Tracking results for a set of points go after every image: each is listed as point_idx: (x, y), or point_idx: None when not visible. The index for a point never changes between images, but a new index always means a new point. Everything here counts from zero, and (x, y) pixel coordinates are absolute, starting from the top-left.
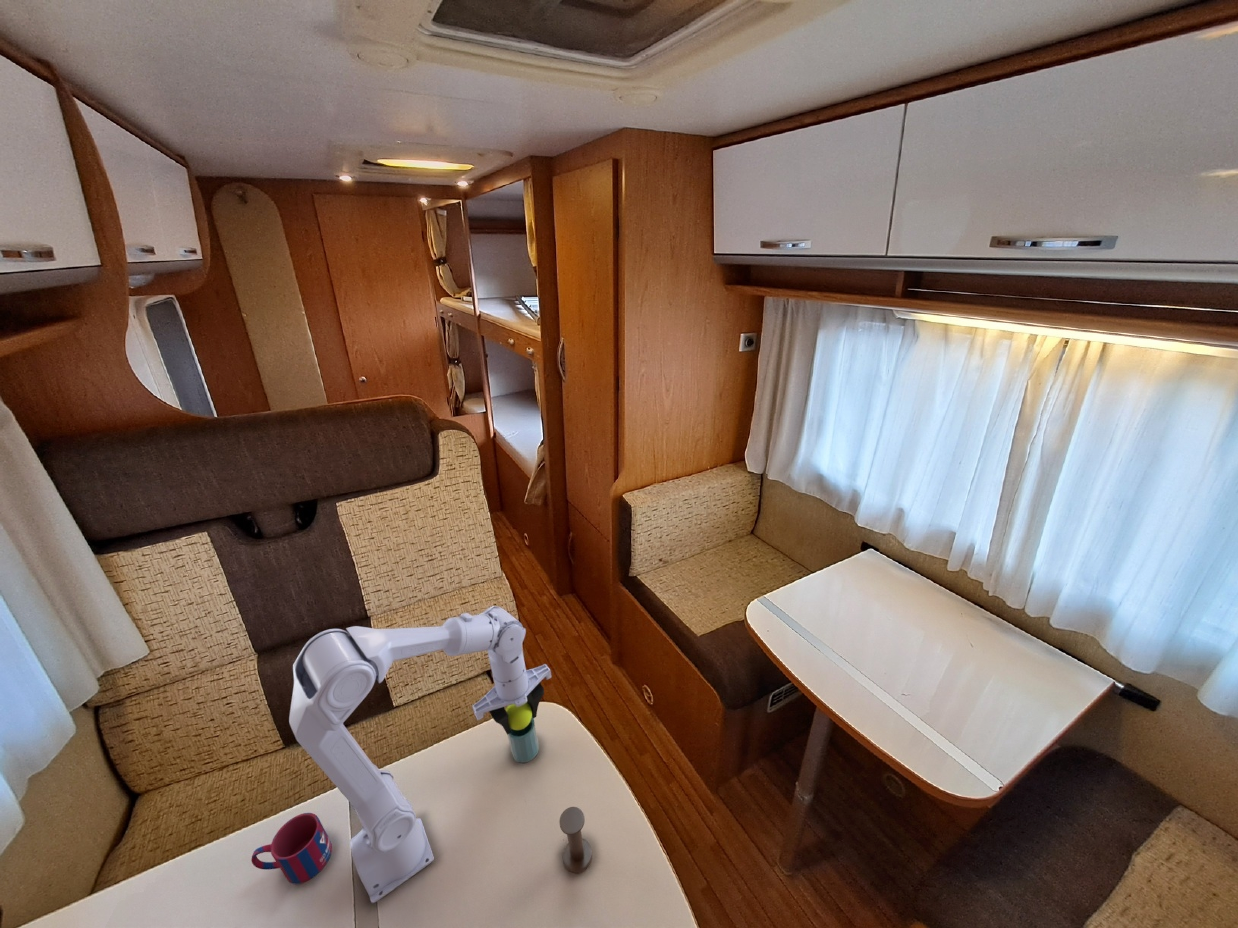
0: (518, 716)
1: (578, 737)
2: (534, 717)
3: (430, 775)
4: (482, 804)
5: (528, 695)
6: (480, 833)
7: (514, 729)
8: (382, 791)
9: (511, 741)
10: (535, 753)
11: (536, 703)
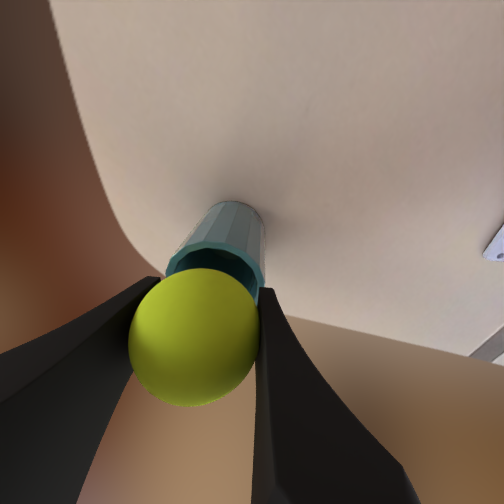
0: (200, 339)
1: (104, 165)
2: (153, 277)
3: (398, 310)
4: (382, 189)
5: (72, 418)
6: (442, 122)
7: (245, 288)
8: None
9: (263, 262)
10: (218, 204)
11: (57, 342)
